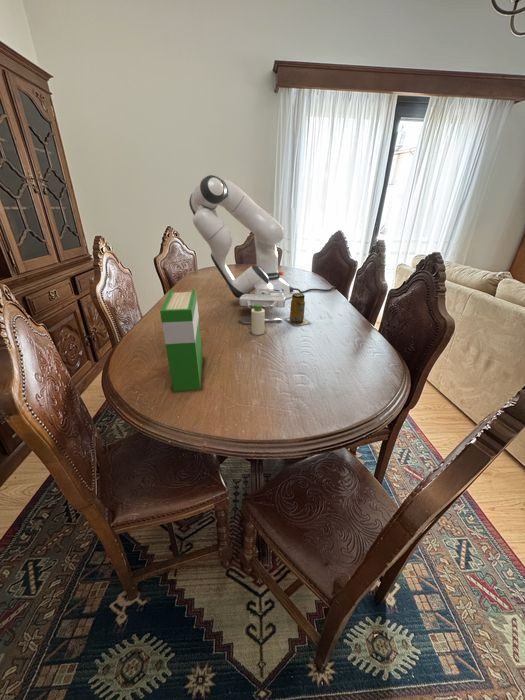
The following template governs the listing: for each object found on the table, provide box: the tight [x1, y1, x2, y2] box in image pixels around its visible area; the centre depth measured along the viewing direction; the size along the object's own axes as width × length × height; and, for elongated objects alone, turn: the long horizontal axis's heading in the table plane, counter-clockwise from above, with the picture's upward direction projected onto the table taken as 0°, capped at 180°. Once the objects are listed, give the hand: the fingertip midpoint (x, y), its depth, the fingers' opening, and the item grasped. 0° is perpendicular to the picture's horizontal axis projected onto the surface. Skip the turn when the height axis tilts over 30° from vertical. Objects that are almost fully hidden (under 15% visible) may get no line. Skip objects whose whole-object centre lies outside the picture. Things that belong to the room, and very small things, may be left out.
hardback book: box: [159, 288, 204, 392], centre depth 83 cm, size 18×7×24 cm, turn 8°
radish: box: [250, 304, 266, 336], centre depth 113 cm, size 5×5×12 cm
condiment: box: [285, 292, 310, 326], centre depth 124 cm, size 7×8×12 cm
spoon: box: [239, 316, 283, 325], centre depth 125 cm, size 18×6×1 cm, turn 90°
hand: (260, 306), depth 121 cm, fingers open, 8 cm apart
